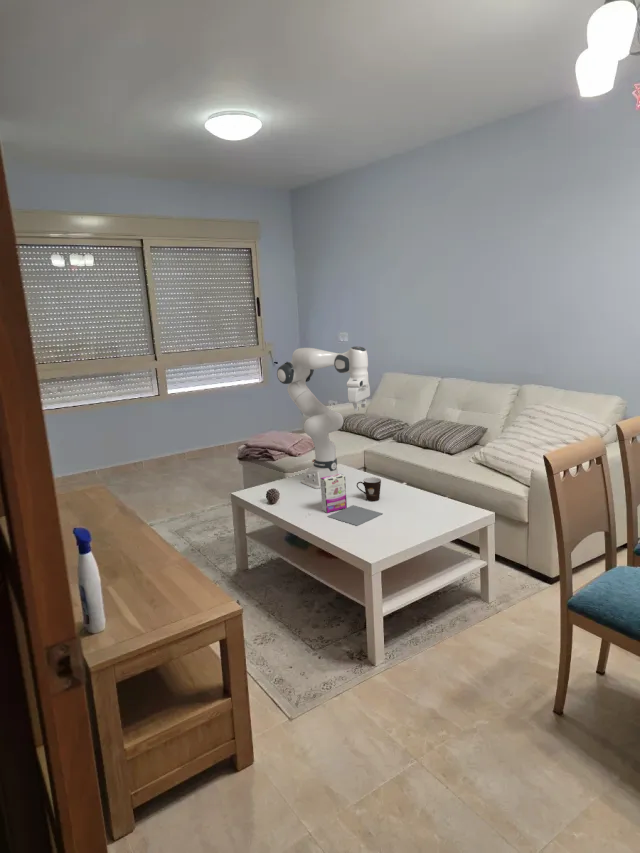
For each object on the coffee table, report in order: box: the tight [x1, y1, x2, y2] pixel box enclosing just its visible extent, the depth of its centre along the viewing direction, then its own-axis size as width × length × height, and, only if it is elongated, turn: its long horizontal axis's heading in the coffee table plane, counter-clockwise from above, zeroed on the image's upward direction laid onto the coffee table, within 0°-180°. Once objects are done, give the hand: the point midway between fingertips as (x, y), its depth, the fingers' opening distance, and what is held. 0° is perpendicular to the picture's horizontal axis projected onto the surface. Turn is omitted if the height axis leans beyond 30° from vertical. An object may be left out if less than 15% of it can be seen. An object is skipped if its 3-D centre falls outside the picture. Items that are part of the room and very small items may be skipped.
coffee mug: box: [356, 476, 382, 502], centre depth 281 cm, size 12×9×10 cm
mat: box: [327, 504, 384, 527], centre depth 261 cm, size 18×18×1 cm
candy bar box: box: [320, 473, 348, 514], centre depth 268 cm, size 11×5×16 cm, turn 118°
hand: (359, 409), depth 275 cm, fingers open, 8 cm apart
